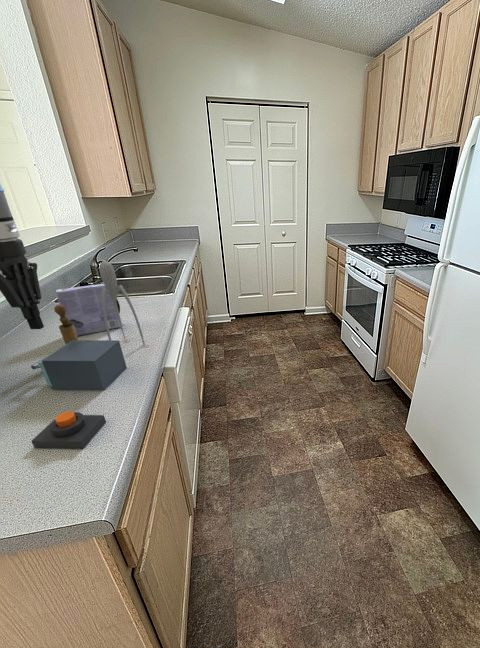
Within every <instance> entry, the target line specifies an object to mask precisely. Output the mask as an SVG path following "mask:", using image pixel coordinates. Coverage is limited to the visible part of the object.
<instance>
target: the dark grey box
mask: <svg viewBox="0 0 480 648" xmlns="http://www.w3.org/2000/svg"><path fill="white" fill-rule="evenodd" d="M59 348H60V349H59ZM59 348H58V349H56V350H57V351H56V350H55V351H53V352H54V353H53V352H52V353H50V354H51V355H49V356H48V357H46V358H45V359H43V360H42V363H43V365H44V368H45V370H46V373H47V375H48V377H49V380H50V382H51V385H52V386H51V387H52V390H53V391H83V392H84V391H86V392H87V391H89V392H90V391H95V392H98V391H100V392H101V391H102V392H104V391H106V390H107V388H109V387H110V386H111V385H112V384H113V383H114V381H116V379H118V378H119V376H120V375H122V374H123V373H124V371H126V369H128V367H127V363H126V360H125V356H124V353H123V350H122V346H121V342H120V340H119V339H118V340H116V339H115V340H112V339H111V340H109V339H107V340H104V339H103V340H95V339H93V340H92V339H91V340H90V339H84V340H83V339H78V340H72V341H70V342H69V343H67V344H66V345H65V344H64V345H63V347H62V346H61V347H59Z"/></svg>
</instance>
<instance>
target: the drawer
mask: <svg viewBox="0 0 480 648" xmlns="http://www.w3.org/2000/svg"><path fill="white" fill-rule="evenodd" d="M64 345H66V344H65V343H64ZM64 345H63V346H64ZM63 346H61V347H63ZM61 347H59V348H58V349H60V348H61ZM58 349H56V350H55V351H57V350H58ZM55 351H53V352H52V353H54V352H55ZM52 353H48V354H47V355H45V356H43V357H42V358H41V359H39V360H37V361H35V362H34V363H33V364H32V365H31V366H30V368H31V369H32V370H37V369H40V370H41V372H42V374H43V377H44V380H45V382H46V383H47V386H48V387H52V385H51V382H50V380H49V377H48V375H47V373H46V370H45V368H44V365H43V363H42V360H43V359H45V358H46V357H48V356H49V355H51V354H52Z"/></svg>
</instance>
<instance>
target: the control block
mask: <svg viewBox="0 0 480 648" xmlns="http://www.w3.org/2000/svg"><path fill="white" fill-rule="evenodd" d="M72 412H73V413H74V414H75V417H76V422H75V423H73V424H71V425H69V426H66V427H58V425H57V423H56V421H55V419H56V417H55V418H54V419H53V420H52V421H51V422H50V423H49V424H48V425H47V426H46V427H44V428H43V429H42V431H40V432H39V433H38V434H37V435H36V436H35V437H34V438H32V439H31V441H30V442H31V444H32V446H33V448H34V449H51V450H84V449H85V448H86V447H87V446H88V445H89V443H90V442H91V441H92V440H93V439H94V438H95V436H97V434H98V433H99V432H100V430H101V429H102V428H103V427H104V426H105V425H106V423H107V419H106V417H105V415H104V414H83V413H81V412H79V411H78V412H77V411H72Z"/></svg>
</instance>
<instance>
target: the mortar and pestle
mask: <svg viewBox="0 0 480 648" xmlns="http://www.w3.org/2000/svg"><path fill="white" fill-rule="evenodd" d="M53 310H54V311H53V312H54V313H56V314H57V315H58V316H59V322H60V323H61V324H60V325H59V326H58V328H59V331H60V334H61V336H62V340H63V342H64V345H65V344H67V343H69V342H70V341H72V340H79V336H77V334H76V331H75V328H74V325H73V323H68V317H66V316H65V312H66V308H65V306H63V305H60V304H56V305H55V306H54V308H53Z"/></svg>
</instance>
